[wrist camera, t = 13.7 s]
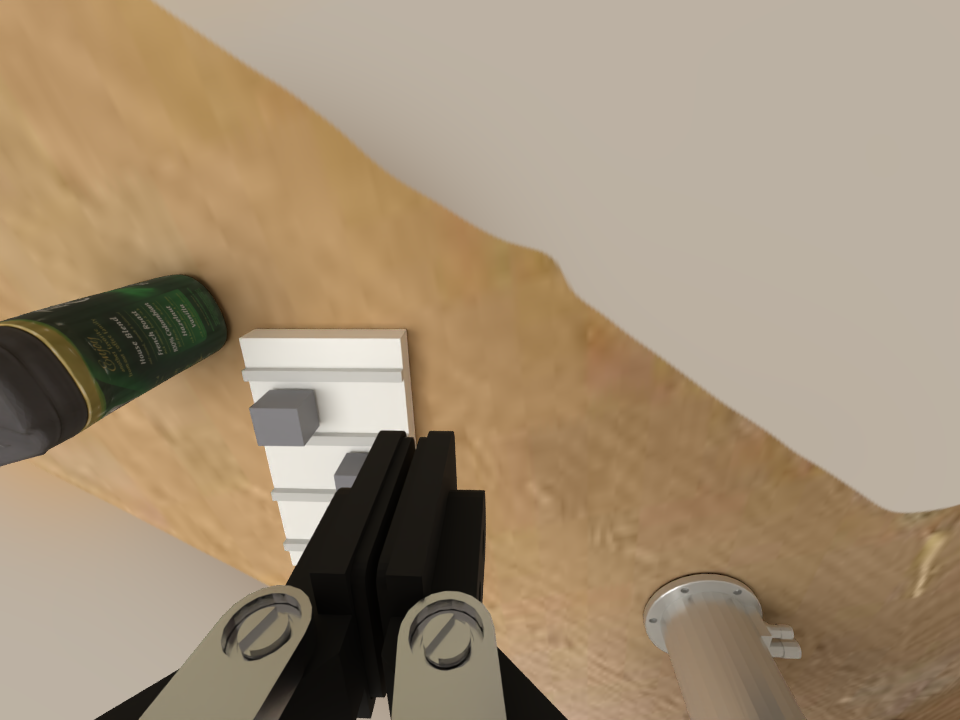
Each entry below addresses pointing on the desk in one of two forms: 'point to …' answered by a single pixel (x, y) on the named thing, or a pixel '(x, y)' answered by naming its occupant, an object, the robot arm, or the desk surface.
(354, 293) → the desk surface
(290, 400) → the tab
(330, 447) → the switch board
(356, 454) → the tab
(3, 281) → the desk surface
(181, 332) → the coffee jar
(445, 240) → the desk surface
